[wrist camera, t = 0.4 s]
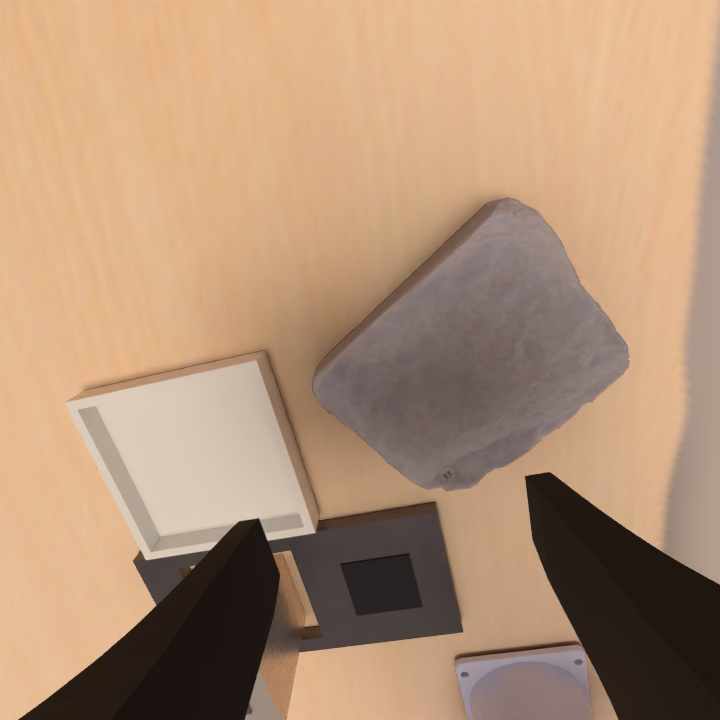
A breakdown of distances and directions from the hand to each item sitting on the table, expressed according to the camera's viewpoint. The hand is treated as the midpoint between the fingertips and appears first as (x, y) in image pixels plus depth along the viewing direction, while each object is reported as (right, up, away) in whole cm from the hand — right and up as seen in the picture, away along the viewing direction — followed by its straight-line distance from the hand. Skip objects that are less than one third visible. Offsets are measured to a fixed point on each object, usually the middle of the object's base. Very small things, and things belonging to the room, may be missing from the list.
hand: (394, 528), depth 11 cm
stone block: (+4, +5, +9) cm, 11 cm away
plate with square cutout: (-4, -9, +14) cm, 18 cm away
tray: (-9, -1, +11) cm, 15 cm away
